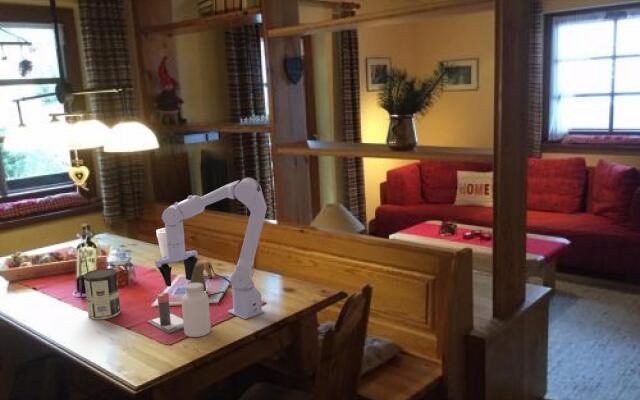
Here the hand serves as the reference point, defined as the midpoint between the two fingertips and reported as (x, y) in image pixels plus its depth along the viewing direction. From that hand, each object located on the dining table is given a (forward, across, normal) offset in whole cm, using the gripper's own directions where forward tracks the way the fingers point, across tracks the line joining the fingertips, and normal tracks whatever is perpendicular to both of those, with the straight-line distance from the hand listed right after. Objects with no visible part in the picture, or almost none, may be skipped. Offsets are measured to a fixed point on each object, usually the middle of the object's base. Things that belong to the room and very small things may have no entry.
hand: (178, 282), depth 187 cm
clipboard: (+10, +7, +5) cm, 14 cm away
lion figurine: (+11, -25, -26) cm, 38 cm away
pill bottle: (+11, +5, +17) cm, 21 cm away
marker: (+10, +9, +6) cm, 14 cm away
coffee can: (+10, +17, -19) cm, 28 cm away
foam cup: (+10, -30, -56) cm, 65 cm away
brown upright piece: (+11, -15, -11) cm, 21 cm away
